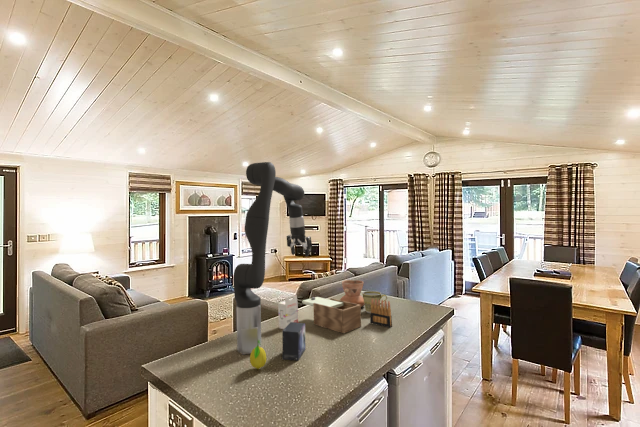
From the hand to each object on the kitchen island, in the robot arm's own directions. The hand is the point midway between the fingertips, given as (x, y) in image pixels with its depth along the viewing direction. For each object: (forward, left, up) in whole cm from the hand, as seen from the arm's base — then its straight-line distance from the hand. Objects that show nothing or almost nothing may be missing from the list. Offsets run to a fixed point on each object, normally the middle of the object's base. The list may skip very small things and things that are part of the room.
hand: (300, 255), depth 174 cm
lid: (-13, -8, -23) cm, 28 cm away
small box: (-48, +13, -32) cm, 59 cm away
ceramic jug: (+7, -31, -32) cm, 45 cm away
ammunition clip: (-27, -32, -32) cm, 53 cm away
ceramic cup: (-7, -38, -32) cm, 50 cm away
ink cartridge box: (-16, +10, -32) cm, 37 cm away
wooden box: (-21, -12, -31) cm, 40 cm away
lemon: (-56, +27, -32) cm, 69 cm away
